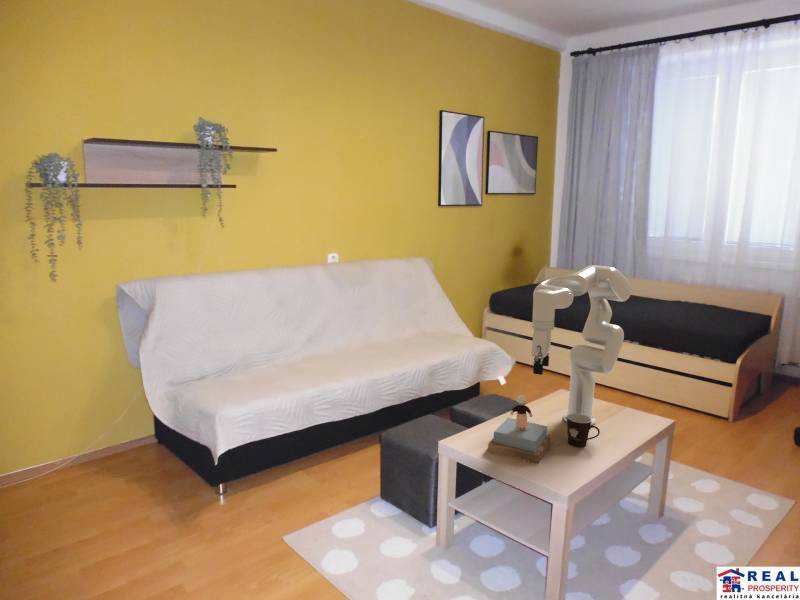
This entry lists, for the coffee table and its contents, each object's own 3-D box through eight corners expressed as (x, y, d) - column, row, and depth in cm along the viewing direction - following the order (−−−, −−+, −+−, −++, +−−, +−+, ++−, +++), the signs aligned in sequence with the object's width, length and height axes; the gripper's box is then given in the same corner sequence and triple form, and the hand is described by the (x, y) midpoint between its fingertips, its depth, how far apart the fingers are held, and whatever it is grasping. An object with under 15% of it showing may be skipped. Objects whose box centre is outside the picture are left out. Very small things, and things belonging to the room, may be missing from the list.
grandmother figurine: (530, 426, 201) (531, 393, 199) (532, 431, 198) (534, 397, 195) (508, 426, 201) (510, 393, 199) (510, 431, 198) (512, 397, 195)
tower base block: (502, 435, 213) (503, 425, 212) (549, 445, 205) (550, 435, 204) (487, 454, 197) (488, 443, 196) (538, 465, 189) (539, 455, 188)
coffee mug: (560, 440, 208) (562, 415, 206) (579, 437, 211) (581, 412, 209) (580, 453, 197) (582, 427, 195) (599, 450, 200) (602, 424, 198)
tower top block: (507, 427, 210) (508, 417, 210) (546, 436, 203) (547, 426, 202) (493, 442, 198) (494, 431, 197) (534, 452, 190) (535, 441, 190)
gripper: (538, 317, 206) (536, 361, 210) (526, 328, 191) (524, 375, 195) (558, 319, 203) (556, 364, 207) (548, 331, 188) (546, 379, 191)
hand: (541, 369), depth 201 cm, fingers open, 9 cm apart
